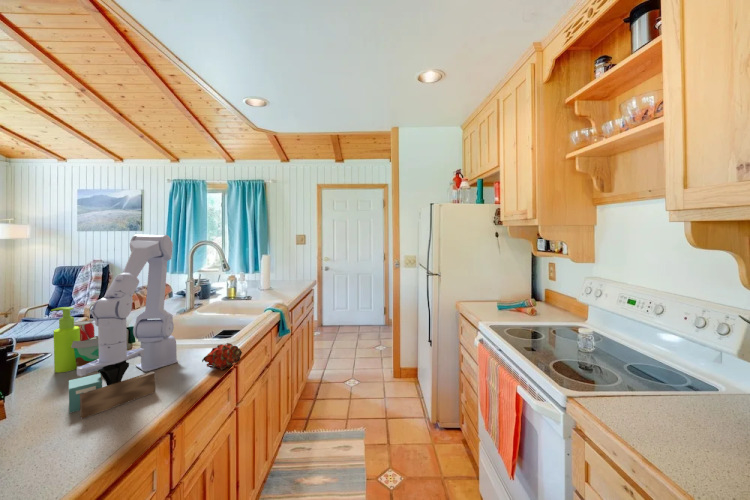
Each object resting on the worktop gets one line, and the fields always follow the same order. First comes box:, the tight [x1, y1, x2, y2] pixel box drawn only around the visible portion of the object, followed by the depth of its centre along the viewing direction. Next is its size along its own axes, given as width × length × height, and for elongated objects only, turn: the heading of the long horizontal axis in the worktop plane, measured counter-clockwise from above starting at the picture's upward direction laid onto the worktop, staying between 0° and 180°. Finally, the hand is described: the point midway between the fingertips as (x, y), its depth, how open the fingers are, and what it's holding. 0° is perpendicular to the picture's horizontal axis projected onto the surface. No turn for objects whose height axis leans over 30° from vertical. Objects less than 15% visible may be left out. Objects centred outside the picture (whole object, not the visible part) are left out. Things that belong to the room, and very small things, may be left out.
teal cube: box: [68, 372, 103, 414], centre depth 77 cm, size 6×6×6 cm
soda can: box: [74, 320, 96, 341], centre depth 107 cm, size 7×7×12 cm
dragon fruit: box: [201, 342, 243, 371], centre depth 100 cm, size 8×8×12 cm
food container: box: [71, 335, 99, 367], centre depth 99 cm, size 12×6×10 cm, turn 168°
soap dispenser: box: [50, 306, 80, 374], centre depth 96 cm, size 6×7×20 cm
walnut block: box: [79, 370, 156, 420], centre depth 77 cm, size 15×2×6 cm, turn 148°
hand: (113, 390), depth 81 cm, fingers closed
